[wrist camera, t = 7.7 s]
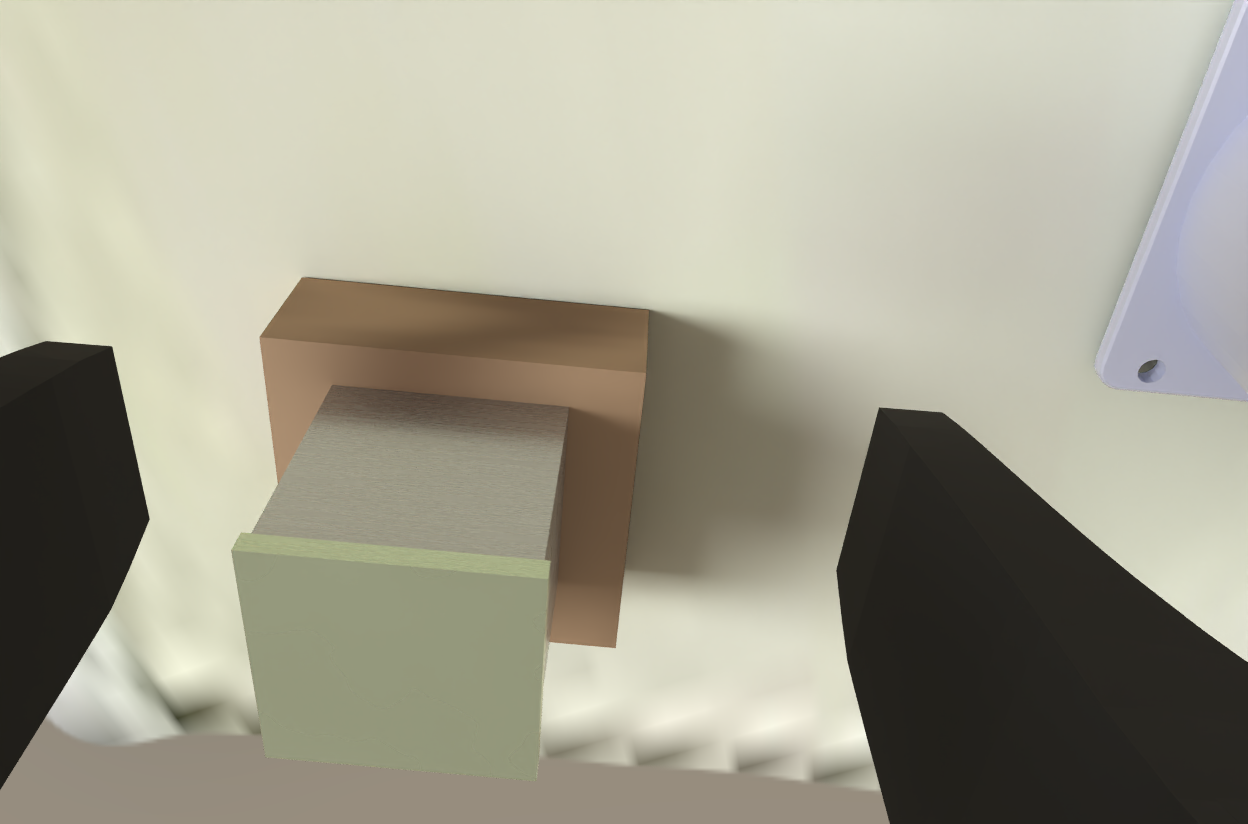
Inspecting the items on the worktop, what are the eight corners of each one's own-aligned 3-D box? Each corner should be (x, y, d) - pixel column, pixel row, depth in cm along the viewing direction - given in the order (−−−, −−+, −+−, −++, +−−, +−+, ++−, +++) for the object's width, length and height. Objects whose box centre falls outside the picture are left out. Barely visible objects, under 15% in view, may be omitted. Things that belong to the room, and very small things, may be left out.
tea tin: (574, 402, 19) (547, 579, 15) (561, 587, 21) (535, 781, 17) (326, 380, 19) (230, 550, 15) (343, 567, 21) (265, 756, 17)
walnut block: (648, 310, 20) (646, 373, 18) (620, 570, 24) (615, 647, 22) (302, 277, 20) (259, 337, 18) (327, 544, 24) (295, 618, 22)
